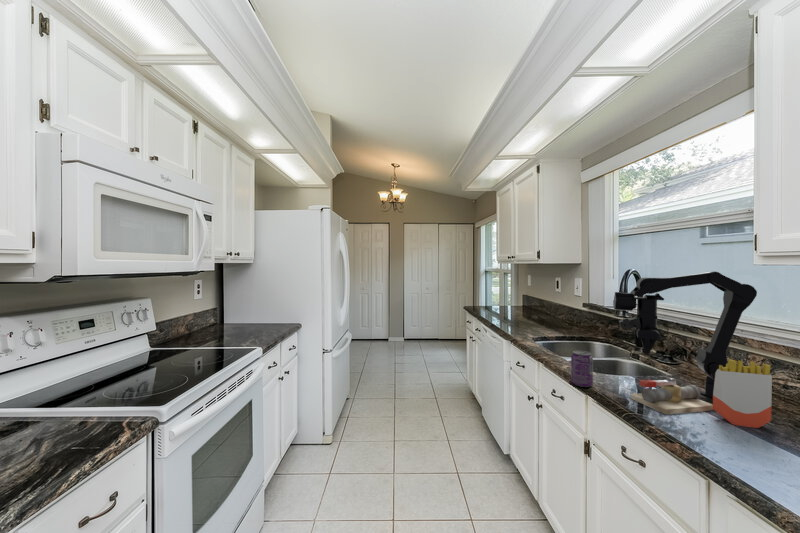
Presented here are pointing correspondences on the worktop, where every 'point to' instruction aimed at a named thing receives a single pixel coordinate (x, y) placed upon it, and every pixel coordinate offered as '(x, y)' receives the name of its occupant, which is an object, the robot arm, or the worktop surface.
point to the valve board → (675, 406)
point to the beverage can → (582, 368)
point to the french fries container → (743, 393)
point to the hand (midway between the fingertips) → (646, 354)
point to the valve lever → (657, 382)
